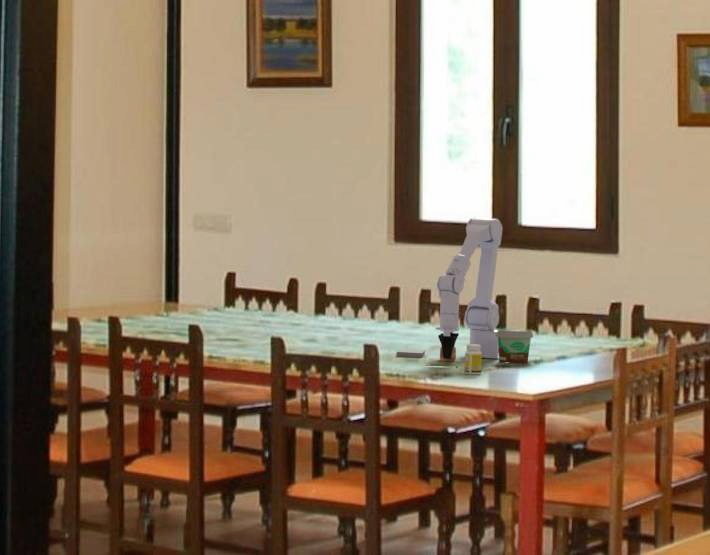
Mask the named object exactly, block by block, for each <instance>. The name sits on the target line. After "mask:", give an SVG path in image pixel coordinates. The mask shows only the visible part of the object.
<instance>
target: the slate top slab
mask: <svg viewBox="0 0 710 555" xmlns="http://www.w3.org/2000/svg"><path fill="white" fill-rule="evenodd" d="M425 352H426V350H425V349H411V348H410V349H409V348H408V349H405V348H399V349H398V350H397V351H396V354H397V356H396V357H395V358H404V357H413V358H412V359H424V358H423V356H424V355H426V353H425Z"/></svg>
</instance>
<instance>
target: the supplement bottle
mask: <svg viewBox="0 0 710 555" xmlns="http://www.w3.org/2000/svg"><path fill="white" fill-rule="evenodd" d="M480 349H481V345H478V344H470V343H468V344H466V351H465V353H464V374H465V375H471V376H475V375H481V374H482V361H483V358H482V353H481V352H480Z"/></svg>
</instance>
